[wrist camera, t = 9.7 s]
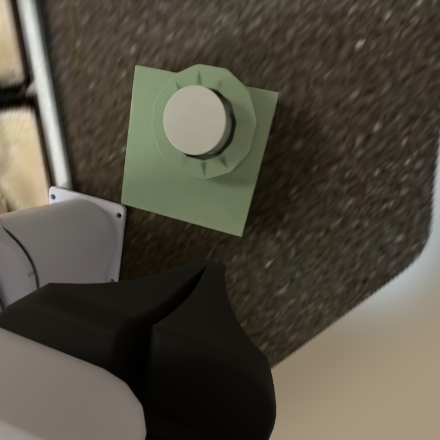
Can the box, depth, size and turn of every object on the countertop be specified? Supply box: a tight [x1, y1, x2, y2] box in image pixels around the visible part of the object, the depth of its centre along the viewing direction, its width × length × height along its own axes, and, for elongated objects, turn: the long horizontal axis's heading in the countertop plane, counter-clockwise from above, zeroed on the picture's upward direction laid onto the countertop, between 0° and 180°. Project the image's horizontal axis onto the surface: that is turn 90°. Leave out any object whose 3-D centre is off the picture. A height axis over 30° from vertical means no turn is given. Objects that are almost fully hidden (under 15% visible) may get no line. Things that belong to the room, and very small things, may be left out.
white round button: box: [163, 85, 232, 155], centre depth 15 cm, size 4×4×2 cm
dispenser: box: [121, 64, 279, 237], centre depth 18 cm, size 10×10×5 cm
